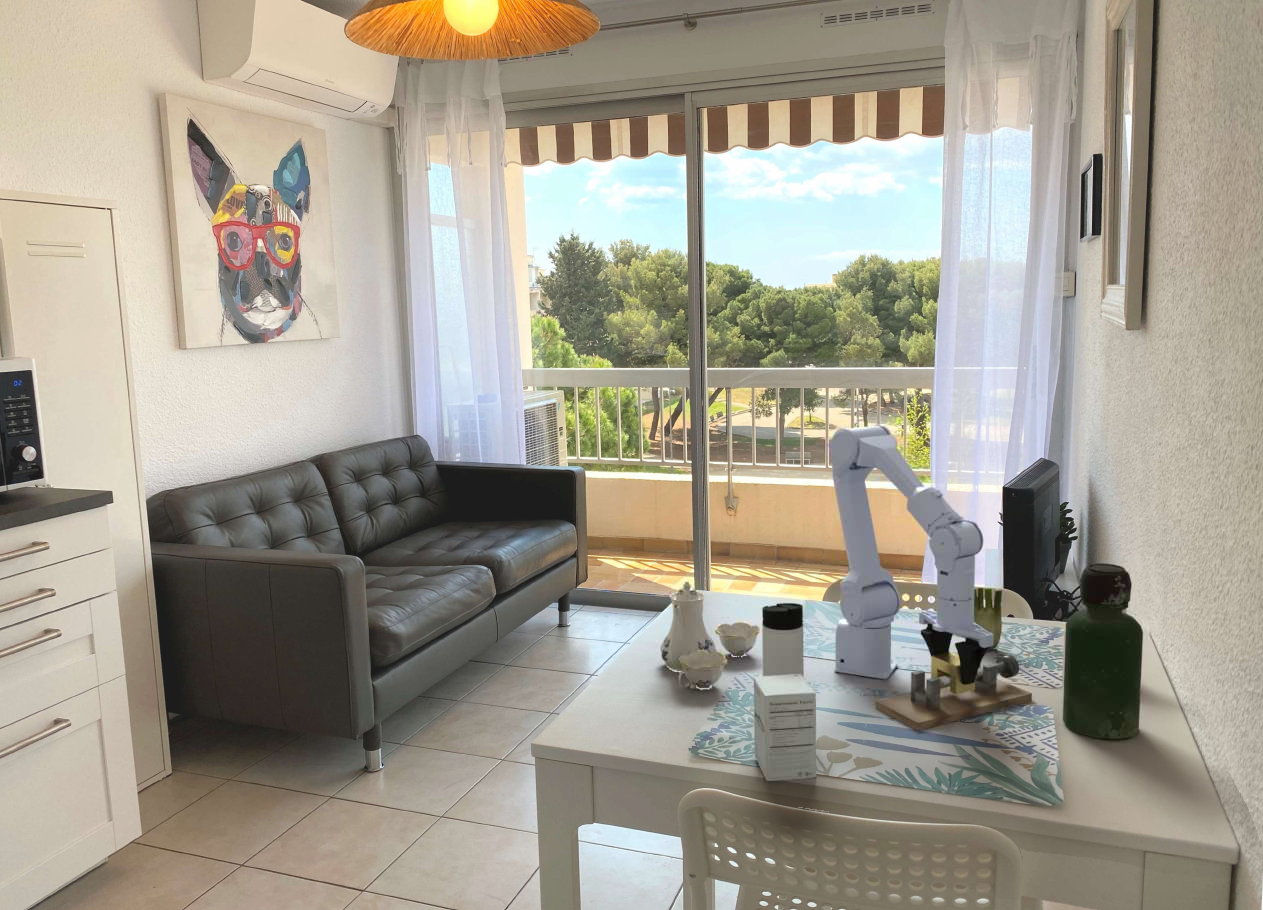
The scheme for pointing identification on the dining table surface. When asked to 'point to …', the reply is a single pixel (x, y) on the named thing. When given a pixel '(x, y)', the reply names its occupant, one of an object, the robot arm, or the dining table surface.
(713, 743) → the dining table surface
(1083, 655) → the green bottle
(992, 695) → the shaft bracket
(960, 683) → the spacer
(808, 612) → the dining table surface
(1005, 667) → the shaft
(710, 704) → the dining table surface
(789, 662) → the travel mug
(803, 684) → the supplement box
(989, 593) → the fennel bulb
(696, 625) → the chinaware
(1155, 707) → the dining table surface
